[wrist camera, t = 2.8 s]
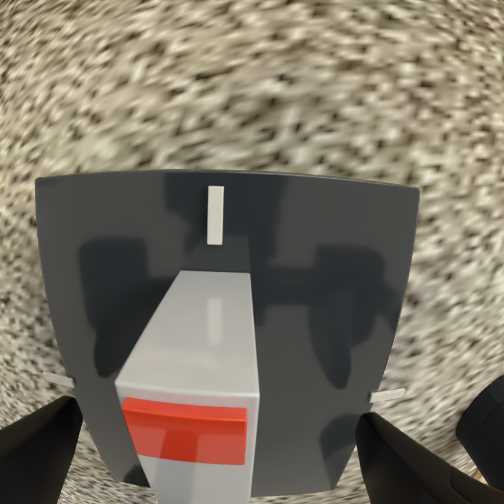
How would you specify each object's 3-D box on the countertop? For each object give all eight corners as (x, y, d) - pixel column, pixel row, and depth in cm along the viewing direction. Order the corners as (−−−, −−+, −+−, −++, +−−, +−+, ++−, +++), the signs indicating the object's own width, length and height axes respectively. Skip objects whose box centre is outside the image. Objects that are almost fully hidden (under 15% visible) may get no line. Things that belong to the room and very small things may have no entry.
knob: (241, 474, 10) (243, 569, 5) (198, 472, 10) (188, 565, 5) (250, 272, 7) (262, 408, 3) (179, 269, 7) (105, 393, 3)
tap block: (341, 447, 14) (355, 489, 10) (109, 437, 13) (93, 477, 10) (402, 186, 10) (452, 193, 7) (59, 176, 10) (7, 181, 6)
